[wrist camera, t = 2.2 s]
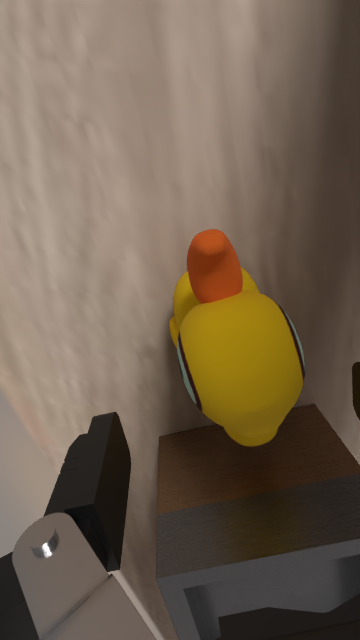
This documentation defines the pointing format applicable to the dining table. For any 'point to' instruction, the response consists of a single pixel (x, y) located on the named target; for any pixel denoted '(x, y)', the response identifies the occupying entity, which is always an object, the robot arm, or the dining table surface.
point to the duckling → (234, 344)
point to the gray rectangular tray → (256, 523)
